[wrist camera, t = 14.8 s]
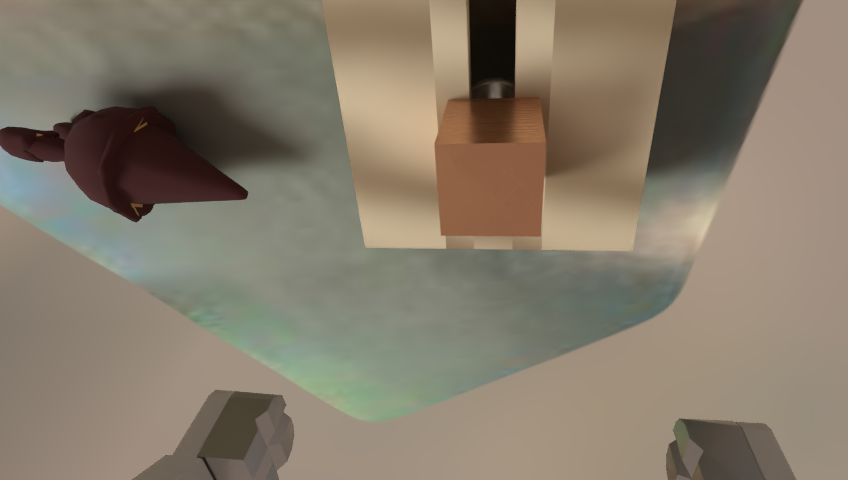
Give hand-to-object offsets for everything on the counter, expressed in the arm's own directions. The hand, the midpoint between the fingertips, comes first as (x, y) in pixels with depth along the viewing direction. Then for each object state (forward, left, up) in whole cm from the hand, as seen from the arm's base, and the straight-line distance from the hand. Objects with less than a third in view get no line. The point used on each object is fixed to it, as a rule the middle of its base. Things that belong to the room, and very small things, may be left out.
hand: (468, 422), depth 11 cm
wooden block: (0, 0, -20) cm, 20 cm away
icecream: (+3, -22, -23) cm, 32 cm away
